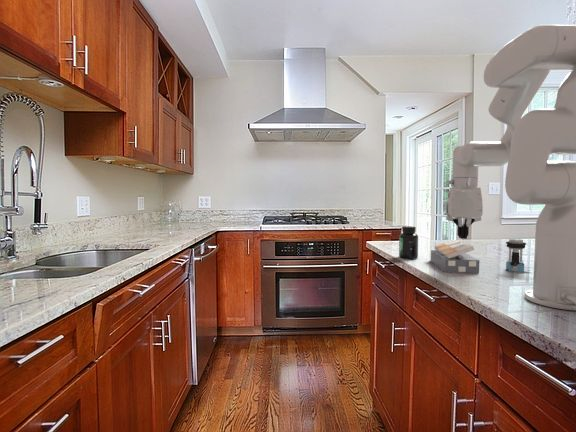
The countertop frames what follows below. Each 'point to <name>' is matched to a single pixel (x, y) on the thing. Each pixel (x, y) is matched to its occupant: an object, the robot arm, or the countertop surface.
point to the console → (455, 263)
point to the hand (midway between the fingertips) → (462, 238)
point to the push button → (515, 255)
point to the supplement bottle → (408, 243)
